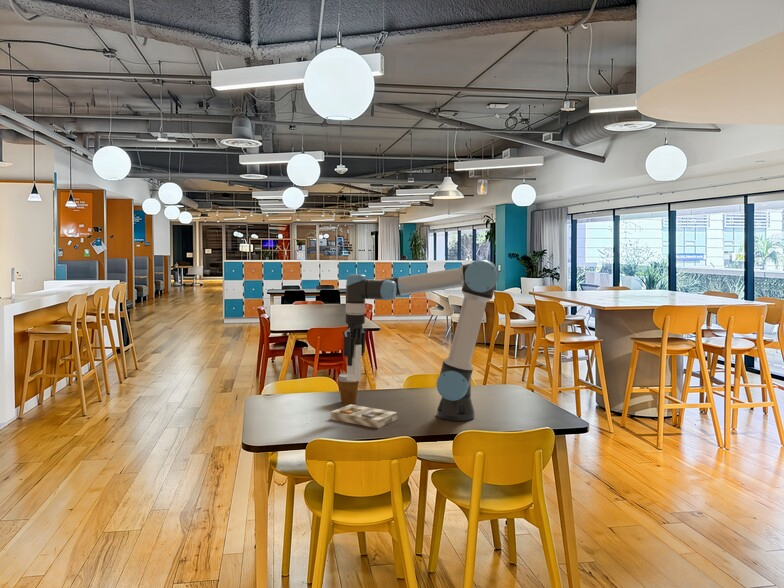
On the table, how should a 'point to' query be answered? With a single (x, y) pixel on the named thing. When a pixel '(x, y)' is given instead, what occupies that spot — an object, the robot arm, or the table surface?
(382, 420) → the socket plate
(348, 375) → the plug
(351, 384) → the disposable coffee cup
